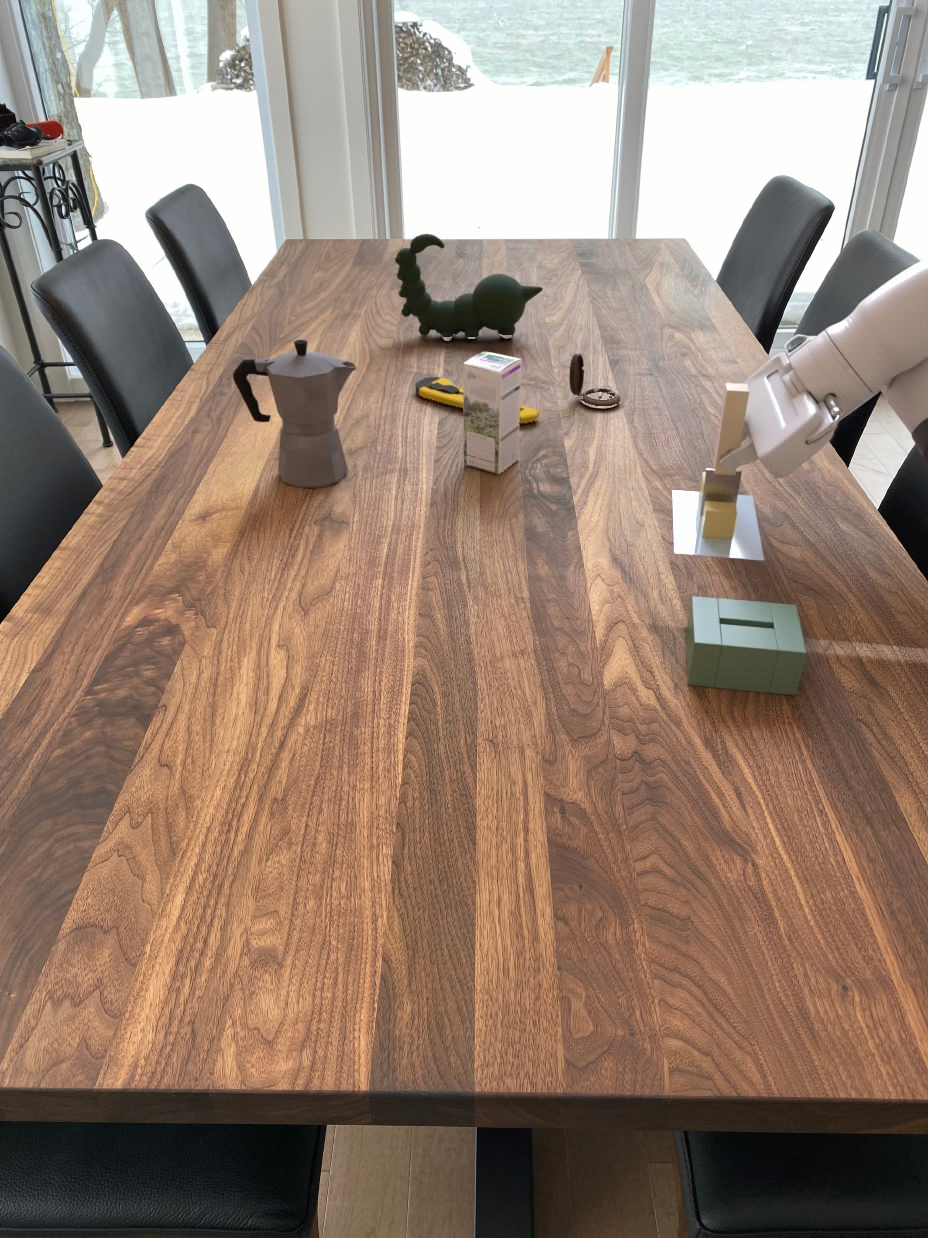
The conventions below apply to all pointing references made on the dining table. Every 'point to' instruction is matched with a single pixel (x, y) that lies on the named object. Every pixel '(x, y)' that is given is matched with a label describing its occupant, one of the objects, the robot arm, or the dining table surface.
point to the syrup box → (491, 411)
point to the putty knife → (727, 446)
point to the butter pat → (718, 520)
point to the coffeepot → (302, 412)
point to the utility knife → (458, 396)
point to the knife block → (744, 645)
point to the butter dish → (693, 543)
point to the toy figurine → (460, 299)
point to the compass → (576, 387)
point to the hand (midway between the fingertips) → (720, 459)
